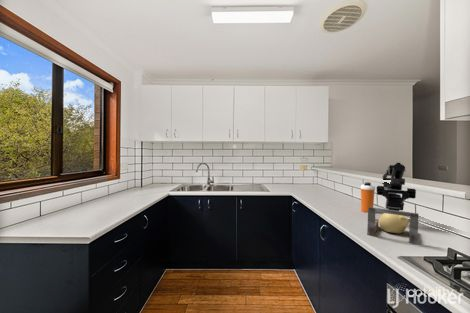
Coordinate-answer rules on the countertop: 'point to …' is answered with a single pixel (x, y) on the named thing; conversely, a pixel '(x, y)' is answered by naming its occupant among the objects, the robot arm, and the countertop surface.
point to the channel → (413, 216)
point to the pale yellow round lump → (393, 223)
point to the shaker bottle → (367, 196)
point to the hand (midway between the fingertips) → (394, 203)
